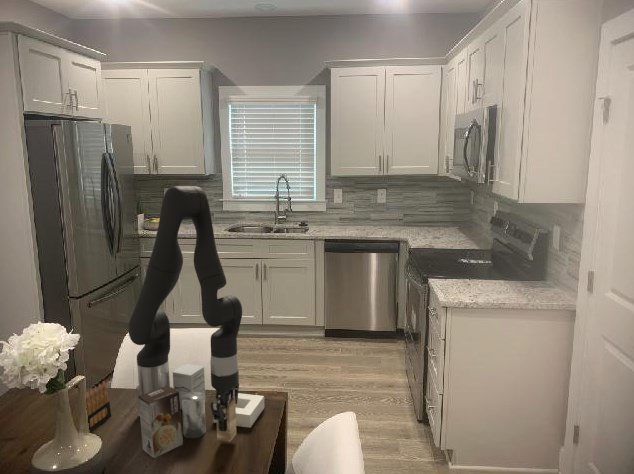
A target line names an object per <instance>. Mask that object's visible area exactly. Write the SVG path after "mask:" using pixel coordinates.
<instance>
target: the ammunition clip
mask: <svg viewBox="0 0 634 474" xmlns="http://www.w3.org/2000/svg"><path fill="white" fill-rule="evenodd" d="M107 390H108V389H107V384H106V382H105V381H104V380H103V381H102V384H101V383H99V384H98V387H97V386H96V385H95V386H94V389H92V388H91V389H90V390H89V391H86V394H85V399H86V408H87V415H88V423H89V430H90V433H91V432H92V431H94V430H95V429H96V428H98V427H99V426H100V425H102V424H103V423H105V421H107V420H109V419H110V418H112V411H111V410H112V409H111V404H110V401H109V395H108V394H109V393H108V391H107Z"/></svg>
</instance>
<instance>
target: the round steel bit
mask: <svg viewBox="0 0 634 474" xmlns="http://www.w3.org/2000/svg"><path fill="white" fill-rule="evenodd" d="M181 400H182V409H181V410H182V412H181V413H182V414H181V417H182V434H183V436H184V437H185V438H187V439H197V438H198V439H199V438H201V437H202V436H204V435H205V434H206V432H207V424H206V423H207V421H206V407H205V406H206V404H205V403H206V402H205V401H206V400H205V401H204V394H203V393H200V392H191V393H187V394H185V395H183V396H182V398H181Z"/></svg>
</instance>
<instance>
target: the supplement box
mask: <svg viewBox="0 0 634 474" xmlns="http://www.w3.org/2000/svg"><path fill="white" fill-rule="evenodd" d="M205 380H206V379H205V366H202V365H196V364H191V363H184V364H182V365H181V366H179V367H178V368H176V369H175V370H174V371H172V386H173V387H172V388H174V389H175V390H177V391H179V397H180V410H182V400H181V398H182V396H183V395H185V394H187V393H191V392H200V393H203V394H204V401H205V403H206V381H205Z"/></svg>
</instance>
